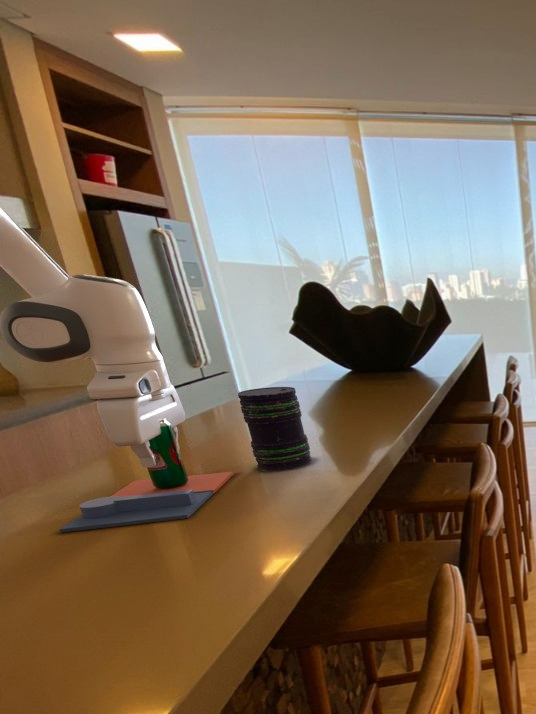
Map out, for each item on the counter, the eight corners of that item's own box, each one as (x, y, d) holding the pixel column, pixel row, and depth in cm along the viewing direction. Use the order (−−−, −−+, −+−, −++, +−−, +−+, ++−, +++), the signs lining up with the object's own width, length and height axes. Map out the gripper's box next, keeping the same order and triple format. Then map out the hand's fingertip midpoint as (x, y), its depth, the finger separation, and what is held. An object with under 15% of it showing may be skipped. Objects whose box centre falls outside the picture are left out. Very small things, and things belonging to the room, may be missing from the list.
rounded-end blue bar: (76, 520, 87) (71, 508, 86) (93, 508, 91) (89, 497, 91) (188, 508, 91) (184, 496, 90) (199, 497, 96) (196, 486, 95)
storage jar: (261, 474, 109) (239, 397, 104) (253, 463, 116) (233, 390, 111) (317, 464, 115) (300, 391, 109) (307, 454, 122) (291, 385, 116)
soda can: (147, 489, 100) (123, 422, 96) (174, 480, 105) (153, 416, 100) (169, 491, 99) (146, 423, 95) (196, 482, 104) (175, 417, 99)
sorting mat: (60, 532, 84) (58, 528, 84) (134, 484, 105) (133, 480, 105) (188, 518, 89) (186, 514, 88) (234, 474, 110) (233, 470, 109)
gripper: (141, 372, 103) (165, 446, 108) (80, 390, 85) (112, 477, 90) (182, 370, 105) (204, 443, 110) (130, 387, 87) (160, 472, 92)
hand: (162, 458), depth 100 cm, fingers open, 8 cm apart
